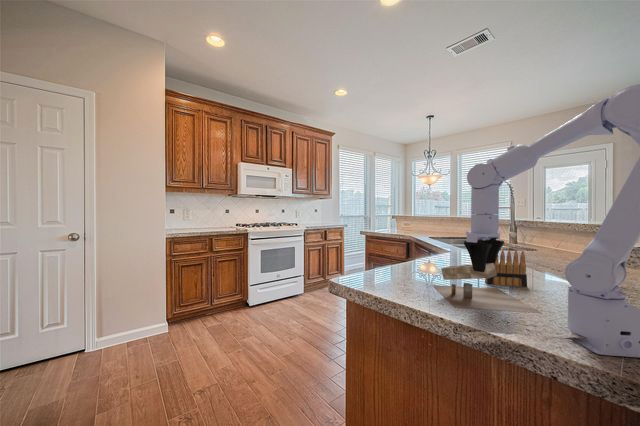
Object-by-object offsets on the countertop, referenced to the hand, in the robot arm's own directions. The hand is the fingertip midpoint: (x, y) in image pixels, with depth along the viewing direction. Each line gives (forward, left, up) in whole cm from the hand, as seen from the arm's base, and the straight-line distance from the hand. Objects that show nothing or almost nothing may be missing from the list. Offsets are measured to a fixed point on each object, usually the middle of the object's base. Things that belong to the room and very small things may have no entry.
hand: (483, 269), depth 63 cm
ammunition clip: (+17, -14, -10) cm, 24 cm away
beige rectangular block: (+2, +2, -3) cm, 4 cm away
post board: (+3, -1, -9) cm, 10 cm away
